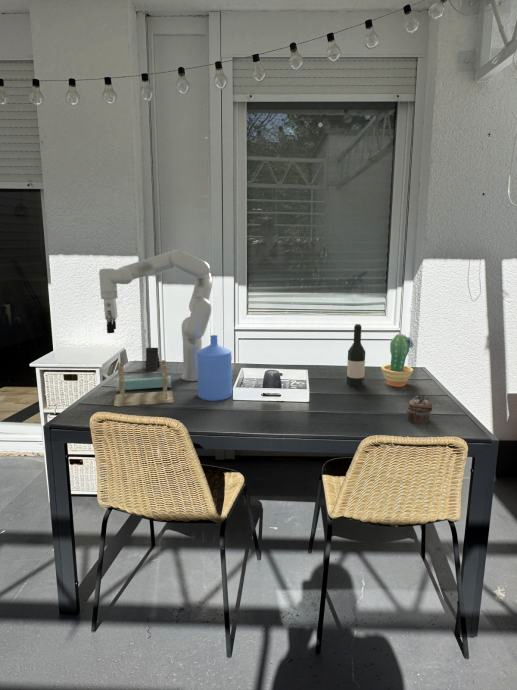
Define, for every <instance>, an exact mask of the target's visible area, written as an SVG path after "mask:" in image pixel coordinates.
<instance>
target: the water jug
mask: <svg viewBox="0 0 517 690" xmlns="http://www.w3.org/2000/svg"><path fill="white" fill-rule="evenodd" d="M209 340H210V344H208V345H206V346H205V347H202V349H201V350H199V351H198V352H197V369H198V373H197V379H198V381H197V397H198V398H200V399H201V400H204V401H208V402H209V401H210V402H211V401H212V402H218V401H225V400H228V399H229V398H231V397H232V395H233V389H232V387H233V386H232V385H233V384H232V382H233V381H232V380H233V379H232V378H233V373H232V359H233V357H232V355H233V354H232V351H231V350H230V349H229V348H226V347H223V346H222V345H220V344H218V340H219V339H218V335H215V334H212V335H210V339H209Z"/></svg>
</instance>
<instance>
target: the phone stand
mask: <svg viewBox="0 0 517 690" xmlns="http://www.w3.org/2000/svg"><path fill="white" fill-rule="evenodd" d="M145 353H146V354H145V372H157V371H158V370H160V368H161V362H160V356H159V348H158V347H146V348H145Z"/></svg>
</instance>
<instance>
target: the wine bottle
mask: <svg viewBox="0 0 517 690" xmlns="http://www.w3.org/2000/svg"><path fill="white" fill-rule="evenodd" d="M354 324H355V325H354V326H353V327H354V328H353V342H352V344H351V346H350V347H349V349H348V351H347V364H346V365H347V367H346V370H347V371H346V385H347V386H349V387H356V388H357V387H358V388H359V387H363V386H364V384H365V369H366V368H365V367H366V366H365V365H366V350H365V348H364V346H363V344H362V325H361V323H354Z"/></svg>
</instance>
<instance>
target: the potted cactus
mask: <svg viewBox="0 0 517 690" xmlns="http://www.w3.org/2000/svg"><path fill="white" fill-rule="evenodd" d="M413 347H414V342H413V340H412V339H411V337H409V336H406V334H403V333H401V334H400V333H397V334H396V335H395V336H394V337H393V338H392V339H391V341H390V343H389V350H390V355H391V358H390V364H385V365H382V366H381V367H380V369H381V371H382V373H383V376H384V378H385V380H386V382H387V383H386V384H387V385H388V386H391V387H396V388H397V387H398V388H399V387H405V386H406V383H407V382H408V380H409V378H410V377H411V375H412V374H413V372H414V368H412V366H408V365H405V363H406V359H407V356H408V354H409V352H410V348H411V349H413Z"/></svg>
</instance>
